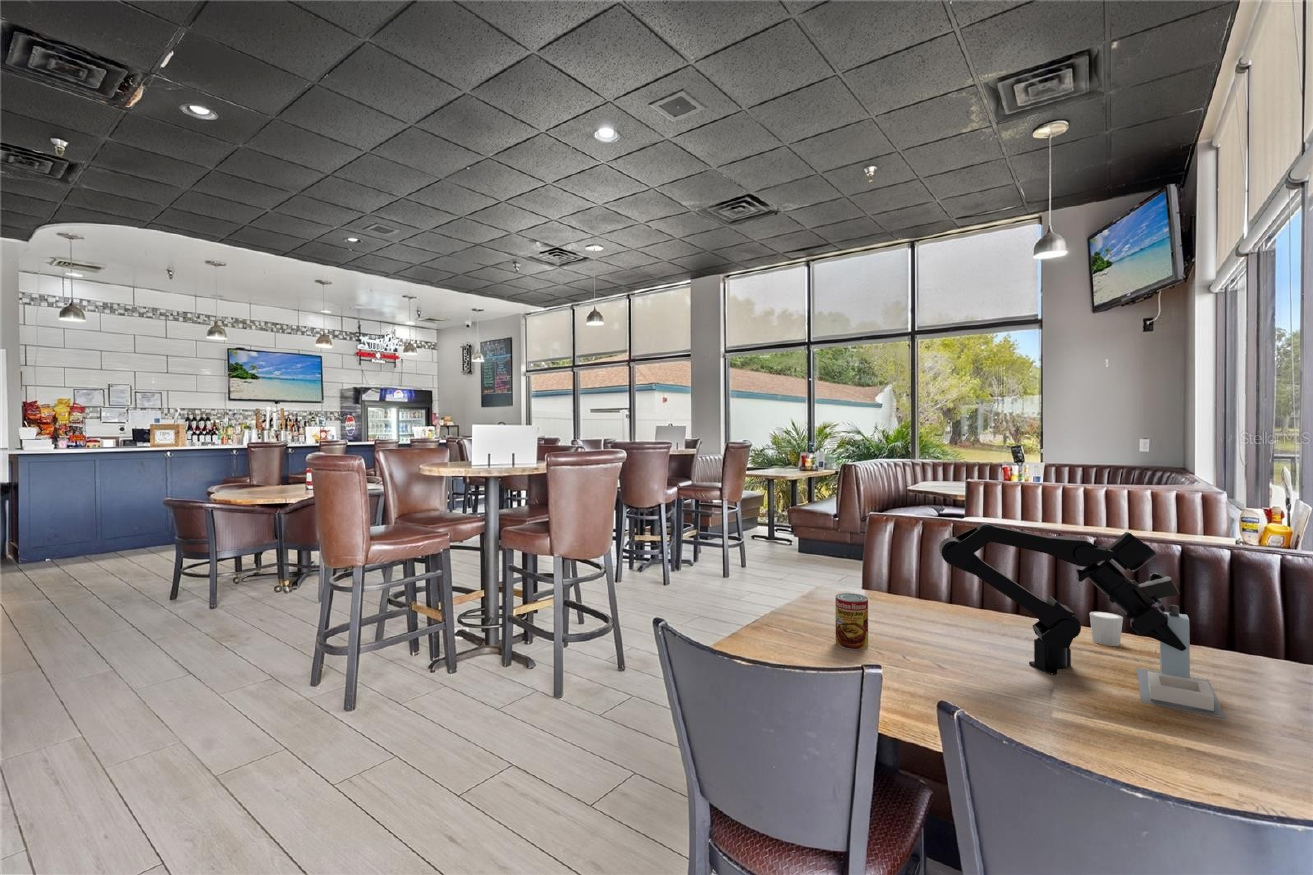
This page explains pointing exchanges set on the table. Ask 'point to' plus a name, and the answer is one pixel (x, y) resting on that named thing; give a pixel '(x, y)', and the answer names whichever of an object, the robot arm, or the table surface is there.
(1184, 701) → the socket
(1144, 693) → the board
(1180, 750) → the table surface
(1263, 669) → the table surface
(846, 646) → the canned food
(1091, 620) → the white cup
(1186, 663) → the plug
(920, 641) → the table surface
